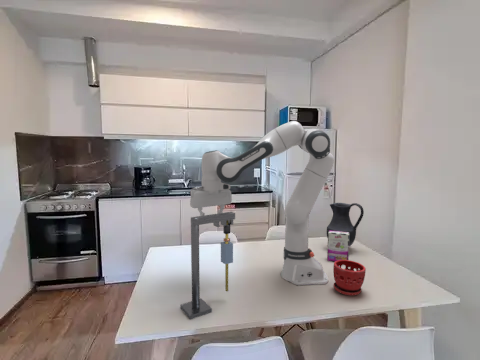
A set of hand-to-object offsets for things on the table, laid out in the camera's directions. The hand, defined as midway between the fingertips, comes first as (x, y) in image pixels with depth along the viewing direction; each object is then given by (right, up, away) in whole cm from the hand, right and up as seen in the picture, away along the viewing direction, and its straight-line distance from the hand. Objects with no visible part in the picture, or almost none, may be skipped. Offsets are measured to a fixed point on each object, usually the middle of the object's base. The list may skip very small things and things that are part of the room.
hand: (211, 215), depth 137 cm
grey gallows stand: (+1, -34, -20) cm, 39 cm away
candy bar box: (+68, -29, +27) cm, 79 cm away
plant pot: (+61, -33, -7) cm, 70 cm away
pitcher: (+77, -27, +43) cm, 92 cm away
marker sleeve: (+8, -17, -17) cm, 25 cm away
